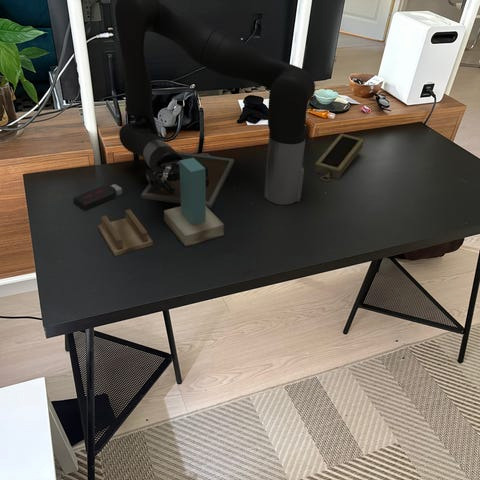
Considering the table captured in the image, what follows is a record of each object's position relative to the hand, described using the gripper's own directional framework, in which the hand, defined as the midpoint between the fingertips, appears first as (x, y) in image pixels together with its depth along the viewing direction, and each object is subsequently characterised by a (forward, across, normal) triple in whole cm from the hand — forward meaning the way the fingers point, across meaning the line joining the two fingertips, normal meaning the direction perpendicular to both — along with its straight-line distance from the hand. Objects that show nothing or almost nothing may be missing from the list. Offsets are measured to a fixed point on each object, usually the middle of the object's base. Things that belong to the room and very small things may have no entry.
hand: (190, 187), depth 111 cm
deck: (+1, 0, +10) cm, 11 cm away
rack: (-3, -16, +10) cm, 19 cm away
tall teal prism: (+1, 0, +8) cm, 8 cm away
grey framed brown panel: (-22, +11, +11) cm, 27 cm away
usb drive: (-22, -16, +11) cm, 29 cm away
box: (-9, +53, +11) cm, 55 cm away
